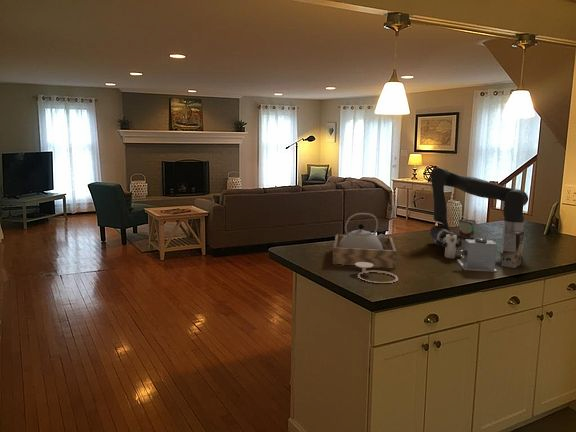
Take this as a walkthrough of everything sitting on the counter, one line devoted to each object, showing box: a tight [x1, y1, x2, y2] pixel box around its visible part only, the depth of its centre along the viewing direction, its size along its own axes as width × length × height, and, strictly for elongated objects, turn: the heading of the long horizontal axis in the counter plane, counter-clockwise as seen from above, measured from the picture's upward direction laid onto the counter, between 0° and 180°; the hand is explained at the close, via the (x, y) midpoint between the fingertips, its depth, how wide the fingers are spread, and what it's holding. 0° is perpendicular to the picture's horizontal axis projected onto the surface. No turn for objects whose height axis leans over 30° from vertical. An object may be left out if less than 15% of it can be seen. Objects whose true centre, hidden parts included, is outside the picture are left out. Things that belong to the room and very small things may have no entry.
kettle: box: [338, 212, 386, 250], centre depth 228 cm, size 25×23×22 cm
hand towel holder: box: [355, 262, 399, 284], centre depth 199 cm, size 17×4×21 cm
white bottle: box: [444, 231, 458, 259], centre depth 233 cm, size 5×6×12 cm
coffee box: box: [501, 230, 525, 269], centre depth 221 cm, size 9×6×16 cm
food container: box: [458, 218, 478, 240], centre depth 284 cm, size 12×6×10 cm, turn 22°
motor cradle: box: [455, 237, 498, 273], centre depth 218 cm, size 17×17×14 cm
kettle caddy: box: [332, 234, 397, 269], centre depth 229 cm, size 28×30×8 cm
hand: (451, 245), depth 232 cm, fingers closed on white bottle, 5 cm apart
